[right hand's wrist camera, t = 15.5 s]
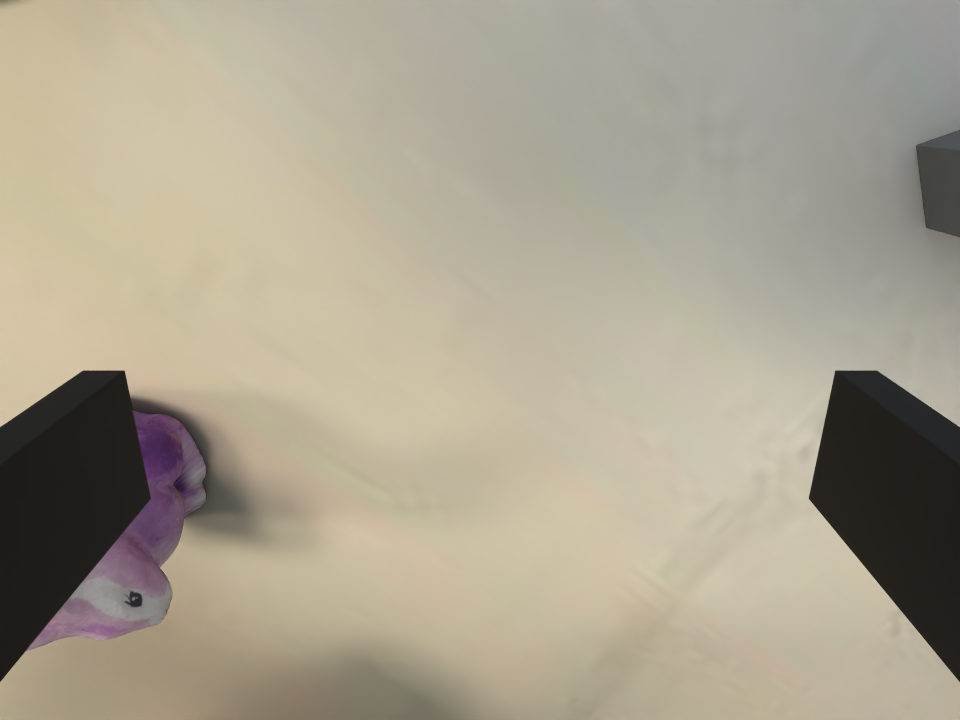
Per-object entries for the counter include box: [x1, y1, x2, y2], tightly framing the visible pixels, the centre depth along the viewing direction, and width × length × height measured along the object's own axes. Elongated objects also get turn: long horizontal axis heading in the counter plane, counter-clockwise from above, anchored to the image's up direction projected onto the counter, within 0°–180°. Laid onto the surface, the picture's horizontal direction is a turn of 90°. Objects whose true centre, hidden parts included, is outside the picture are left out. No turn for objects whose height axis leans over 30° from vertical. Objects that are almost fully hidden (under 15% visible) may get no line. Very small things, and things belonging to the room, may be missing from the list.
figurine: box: [26, 410, 206, 651], centre depth 38 cm, size 9×10×15 cm
